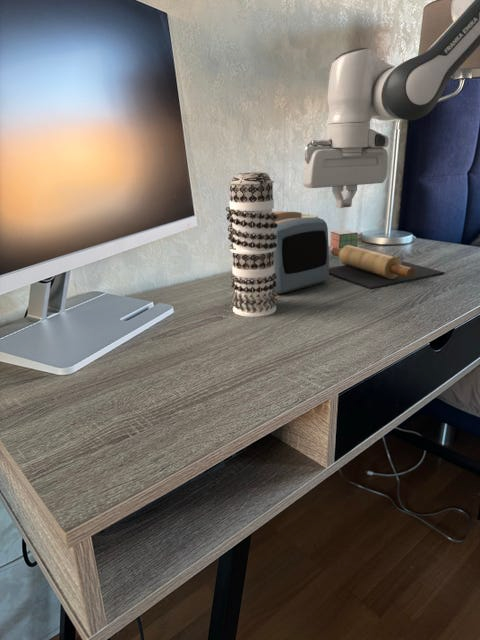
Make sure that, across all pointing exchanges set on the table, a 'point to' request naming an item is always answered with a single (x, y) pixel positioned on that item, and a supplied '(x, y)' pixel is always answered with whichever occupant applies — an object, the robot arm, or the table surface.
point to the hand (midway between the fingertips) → (343, 207)
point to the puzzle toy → (343, 239)
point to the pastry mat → (379, 281)
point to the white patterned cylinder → (252, 244)
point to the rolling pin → (372, 262)
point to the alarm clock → (299, 251)
